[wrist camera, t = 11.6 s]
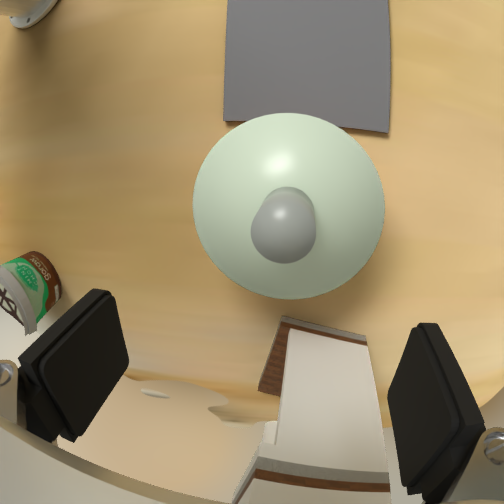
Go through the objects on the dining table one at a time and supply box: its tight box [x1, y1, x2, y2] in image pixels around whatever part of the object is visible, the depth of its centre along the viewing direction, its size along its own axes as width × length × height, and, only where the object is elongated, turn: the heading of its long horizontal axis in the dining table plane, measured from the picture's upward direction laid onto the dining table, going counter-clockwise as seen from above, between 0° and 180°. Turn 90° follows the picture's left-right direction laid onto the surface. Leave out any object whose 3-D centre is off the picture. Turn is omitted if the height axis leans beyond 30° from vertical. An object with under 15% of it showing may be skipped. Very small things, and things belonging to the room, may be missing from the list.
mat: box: [223, 0, 390, 133], centre depth 25 cm, size 18×16×1 cm
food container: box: [0, 251, 61, 335], centre depth 36 cm, size 12×6×10 cm, turn 56°
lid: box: [193, 113, 385, 299], centre depth 22 cm, size 15×15×6 cm
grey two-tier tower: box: [232, 316, 391, 504], centre depth 23 cm, size 11×11×35 cm
